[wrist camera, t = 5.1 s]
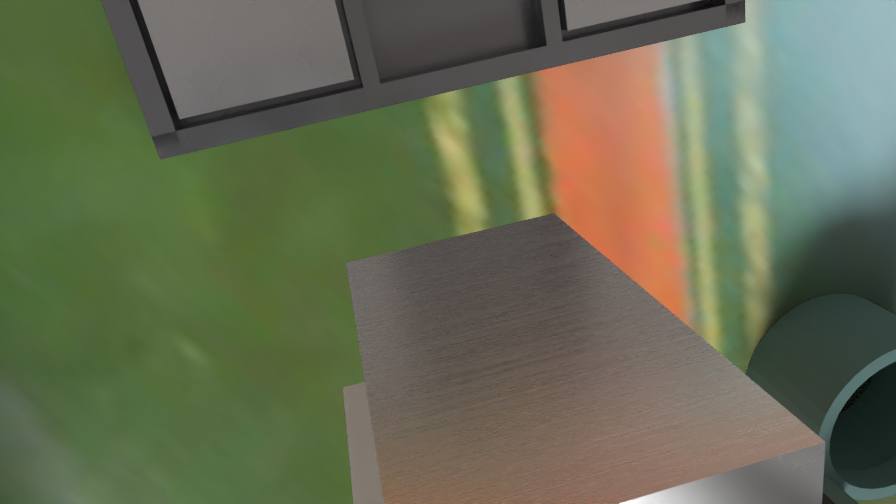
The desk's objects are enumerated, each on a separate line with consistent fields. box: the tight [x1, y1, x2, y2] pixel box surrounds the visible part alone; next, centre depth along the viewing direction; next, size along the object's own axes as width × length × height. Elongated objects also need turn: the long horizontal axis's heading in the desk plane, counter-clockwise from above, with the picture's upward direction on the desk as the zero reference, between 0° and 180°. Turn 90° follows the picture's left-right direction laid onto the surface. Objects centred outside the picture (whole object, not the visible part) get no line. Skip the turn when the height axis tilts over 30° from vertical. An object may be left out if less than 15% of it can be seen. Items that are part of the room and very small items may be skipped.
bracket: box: [746, 293, 896, 504], centre depth 30 cm, size 9×9×9 cm
